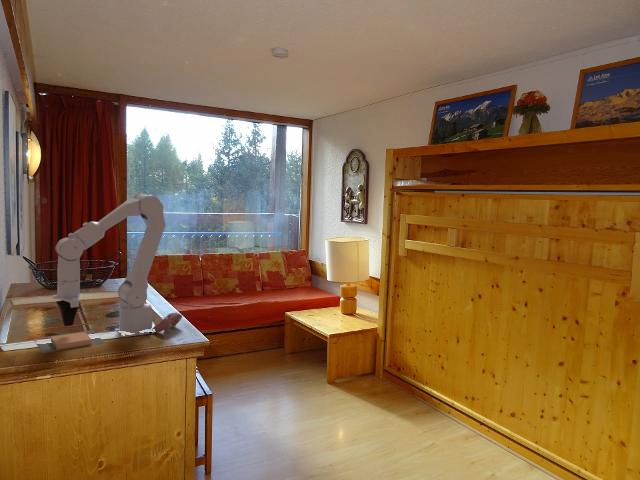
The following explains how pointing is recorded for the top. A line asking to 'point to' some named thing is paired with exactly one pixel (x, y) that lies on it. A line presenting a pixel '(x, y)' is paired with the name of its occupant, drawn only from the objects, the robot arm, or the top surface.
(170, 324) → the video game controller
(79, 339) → the tile
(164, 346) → the top surface
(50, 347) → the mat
